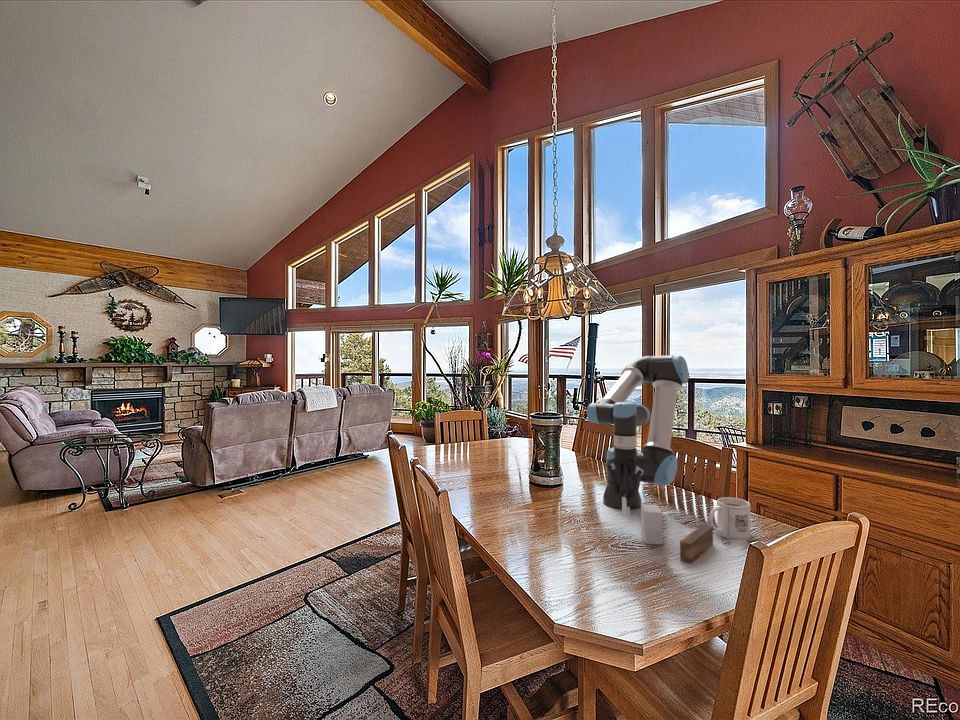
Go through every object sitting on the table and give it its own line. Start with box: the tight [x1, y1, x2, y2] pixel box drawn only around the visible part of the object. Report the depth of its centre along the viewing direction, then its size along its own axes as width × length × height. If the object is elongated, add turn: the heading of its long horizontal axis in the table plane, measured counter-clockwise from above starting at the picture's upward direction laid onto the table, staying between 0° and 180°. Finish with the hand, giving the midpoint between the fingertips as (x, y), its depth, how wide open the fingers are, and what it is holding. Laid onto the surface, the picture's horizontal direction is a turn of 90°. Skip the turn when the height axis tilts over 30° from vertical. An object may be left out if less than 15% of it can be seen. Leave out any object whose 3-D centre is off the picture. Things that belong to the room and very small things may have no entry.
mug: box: [708, 496, 752, 541], centre depth 152 cm, size 10×12×11 cm
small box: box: [640, 503, 664, 545], centre depth 150 cm, size 8×6×10 cm
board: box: [679, 523, 714, 565], centre depth 139 cm, size 3×18×6 cm, turn 134°
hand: (626, 515), depth 156 cm, fingers closed
